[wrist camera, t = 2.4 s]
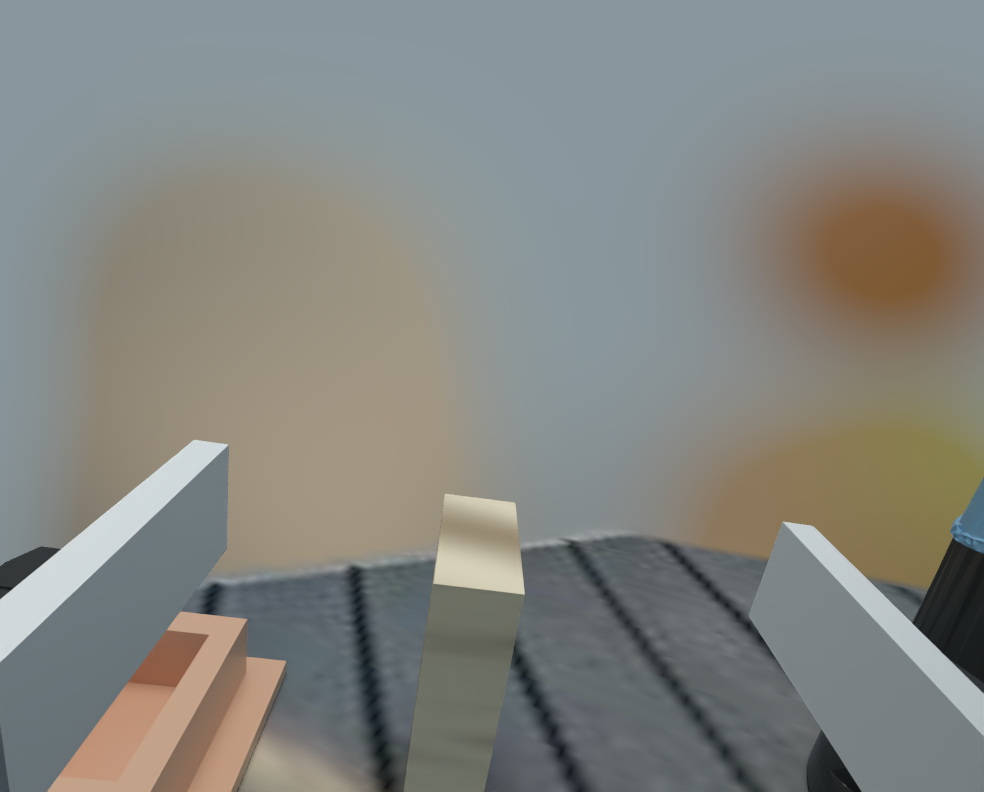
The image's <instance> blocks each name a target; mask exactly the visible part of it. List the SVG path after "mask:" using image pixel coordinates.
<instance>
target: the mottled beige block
mask: <svg viewBox="0 0 984 792" xmlns="http://www.w3.org/2000/svg"><path fill="white" fill-rule="evenodd" d="M524 595H525V593H524V584H523V574H522V564H521V554H520V544H519V535H518V525H517V516H516V505H515V503H513V502H505V501H497V500H489V499H482V498H473V497H466V496H458V495H450V494H445V499H444V505H443V512H442V520H441V527H440V533H439V541H438V548H437V555H436V562H435V569H434V576H433V583H432V590H431V597H430V604H429V611H428V618H427V625H426V632H425V639H424V646H423V653H422V660H421V668H420V675H419V682H418V689H417V696H416V703H415V710H414V717H413V724H412V731H411V738H410V745H409V753H408V760H407V768H406V775H405V782H404V790H403V792H484V791H485V786H486V781H487V776H488V771H489V766H490V761H491V757H492V752H493V747H494V742H495V737H496V732H497V727H498V722H499V717H500V712H501V708H502V703H503V698H504V693H505V688H506V683H507V678H508V673H509V668H510V664H511V659H512V654H513V649H514V644H515V639H516V634H517V629H518V624H519V620H520V615H521V610H522V605H523V600H524Z"/></svg>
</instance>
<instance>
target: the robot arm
mask: <svg viewBox="0 0 984 792" xmlns="http://www.w3.org/2000/svg"><path fill="white" fill-rule="evenodd" d="M228 457H229V445H227V444H220V443H212V442H206V441H198V440H194V441H192V442H191V443H190V444H189V445H187V446H186V447H185V448H184V449H183V450H181V451H180V452H179V453H178V454H176V455H175V456H174V457H173V458H172V459H170V460H169V461H168V462H167V463H165V464H164V465H163V466H162V467H161V468H159V469H158V470H157V471H156V472H155V473H153V474H152V475H151V476H150V477H148V478H147V479H146V480H145V481H144V482H142V483H141V484H140V485H139V486H138V487H136V488H135V489H134V490H133V491H131V492H130V493H129V494H128V495H127V496H125V497H124V498H123V499H122V500H121V501H119V502H118V503H117V504H116V505H114V506H113V507H112V508H111V509H110V510H108V511H107V512H106V513H105V514H103V515H102V516H101V517H100V518H99V519H97V520H96V521H95V522H94V523H93V524H91V525H90V526H89V527H88V528H86V529H85V530H84V531H83V532H82V533H80V534H79V535H78V536H77V537H75V538H74V539H73V540H72V541H71V542H69V543H68V544H67V545H66V546H65V547H63V548H62V549H56V548H48V547H39V548H37V549H34V550H32V551H30V552H28V553H25V554H23V555H21V556H19V557H16V558H14V559H12V560H10V561H8V562H5V563H4V564H3V565H1V566H0V792H47V791H48V790H49V788H50V787H51V785H52V784H53V783H54V781H55V780H56V779H57V777H58V776H59V775H60V773H61V772H62V771H63V769H64V768H65V767H66V765H67V764H68V763H69V761H70V760H71V758H72V757H73V756H74V754H75V753H76V752H77V750H78V749H79V748H80V746H81V745H82V744H83V742H84V741H85V740H86V738H87V737H88V736H89V734H90V733H91V731H92V730H93V729H94V727H95V726H96V725H97V723H98V722H99V721H100V719H101V718H102V717H103V715H104V714H105V713H106V711H107V710H108V708H109V707H110V706H111V704H112V703H113V702H114V700H115V699H116V698H117V696H118V695H119V694H120V692H121V691H122V690H123V688H124V687H125V686H126V684H127V683H128V681H129V680H130V679H131V677H132V676H133V675H134V673H135V672H136V671H137V669H138V668H139V667H140V665H141V664H142V663H143V661H144V660H145V659H146V657H147V656H148V654H149V653H150V652H151V650H152V649H153V648H154V646H155V645H156V644H157V642H158V641H159V640H160V638H161V637H162V636H163V634H164V633H165V632H166V630H167V629H168V627H169V626H170V625H171V623H172V622H173V621H174V619H175V618H176V617H177V615H178V614H179V613H180V611H181V610H182V609H183V607H184V606H185V604H186V603H187V602H188V600H189V599H190V598H191V596H192V595H193V594H194V592H195V591H196V590H197V588H198V587H199V586H200V584H201V583H202V582H203V580H204V579H205V577H206V576H207V575H208V573H209V572H210V571H211V569H212V568H213V567H214V565H215V564H216V563H217V561H218V560H219V558H220V557H221V556H222V554H223V553H224V552H225V550H226V549H227V507H228V506H227V505H228ZM950 532H951V533H952V535H953V539H952V541H951V543H950V545H949V548H948V549H947V552H946V554H945V556H944V558H943V560H942V562H941V564H940V567H939V569H938V571H937V573H936V575H935V577H934V579H933V581H932V583H931V585H930V587H929V589H928V591H927V593H926V595H925V597H924V599H923V602H922V604H921V606H920V608H919V610H918V612H917V614H916V616H915V618H914V620H913V622H912V623H911V622H910V621H909V620H908V619H907V618H906V617H905V616H904V615H903V614H902V613H901V612H900V611H899V610H898V609H897V608H896V607H895V606H894V605H893V604H892V603H891V602H890V601H889V600H888V599H887V598H886V597H885V596H884V595H883V594H882V593H881V592H880V591H879V590H878V589H877V588H876V587H875V586H874V585H873V584H872V583H870V582H869V581H868V580H867V579H866V578H865V577H864V576H863V575H862V574H861V573H860V572H859V571H858V570H857V569H856V568H855V567H854V566H853V565H852V564H851V563H850V562H849V561H848V560H847V559H846V558H845V557H844V556H843V555H842V554H841V553H840V552H839V551H838V550H837V549H836V548H835V547H834V546H833V545H832V544H831V543H830V542H829V541H828V540H827V539H826V538H825V537H824V536H822V534H821V533H819V531H818V530H816V529H815V528H814V527H813V526H808V525H802V524H794V523H788V522H783V523H782V525H781V528H780V531H779V533H778V536H777V539H776V542H775V544H774V547H773V550H772V553H771V555H770V558H769V561H768V564H767V566H766V569H765V572H764V575H763V577H762V580H761V583H760V586H759V588H758V591H757V594H756V597H755V599H754V602H753V605H752V608H751V610H750V613H749V617H750V618H751V620H752V622H753V623H754V625H755V626H756V628H757V629H758V631H759V633H760V634H761V636H762V637H763V639H764V640H765V642H766V643H767V645H768V647H769V648H770V650H771V651H772V653H773V654H774V656H775V657H776V659H777V661H778V662H779V664H780V665H781V667H782V668H783V670H784V671H785V673H786V675H787V676H788V678H789V679H790V681H791V682H792V684H793V685H794V687H795V689H796V690H797V692H798V693H799V695H800V696H801V698H802V699H803V701H804V703H805V704H806V706H807V707H808V709H809V710H810V712H811V713H812V715H813V717H814V718H815V720H816V721H817V723H818V724H819V726H820V727H821V731H820V734H819V736H818V738H817V740H816V743H815V745H814V747H813V749H812V752H811V754H810V757H809V761H808V768H807V776H808V785H809V791H810V792H984V478H983V480H982V482H981V483H980V485H979V487H978V489H977V490H976V492H975V494H974V496H973V497H972V499H971V501H970V503H969V505H968V507H967V508H966V510H965V512H964V514H963V515H961V516H960V517H958V518H957V519H956V520H955V521H954V522H953V525H952V528H951V531H950Z"/></svg>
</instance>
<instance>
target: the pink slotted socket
mask: <svg viewBox="0 0 984 792" xmlns="http://www.w3.org/2000/svg"><path fill="white" fill-rule="evenodd" d="M286 663H287V661H281V660H271V659H262V658H253V657H247V619H241V618H232V617H223V616H215V615H206V614H197V613H188V612H180V613H179V614H178V615H177V617H176V618H175V619H174V621H173V622H172V623H171V625H170V626H169V627H168V629H167V630H166V632H165V633H164V634H163V636H162V637H161V638H160V640H159V641H158V642H157V644H156V645H155V646H154V648H153V649H152V650H151V652H150V653H149V654H148V656H147V657H146V659H145V660H144V661H143V663H142V664H141V665H140V667H139V668H138V669H137V671H136V672H135V673H134V675H133V676H132V677H131V679H130V680H129V681H128V683H127V684H126V686H125V687H124V688H123V690H122V691H121V692H120V694H119V695H118V696H117V698H116V699H115V700H114V702H113V703H112V704H111V706H110V707H109V708H108V710H107V711H106V713H105V714H104V715H103V717H102V718H101V719H100V721H99V722H98V723H97V725H96V726H95V727H94V729H93V730H92V731H91V733H90V734H89V736H88V737H87V738H86V740H85V741H84V742H83V744H82V745H81V746H80V748H79V749H78V750H77V752H76V753H75V754H74V756H73V757H72V758H71V760H70V761H69V763H68V764H67V765H66V767H65V768H64V769H63V771H62V772H61V773H60V775H59V776H58V777H57V779H56V780H55V781H54V783H53V784H52V785H51V787H50V788H49V790H48V791H47V792H237V790H238V788H239V786H240V783H241V781H242V778H243V776H244V773H245V771H246V769H247V766H248V764H249V761H250V759H251V757H252V754H253V752H254V749H255V747H256V745H257V742H258V740H259V737H260V735H261V733H262V730H263V728H264V725H265V723H266V721H267V718H268V716H269V713H270V711H271V709H272V706H273V704H274V701H275V699H276V697H277V694H278V692H279V689H280V687H281V685H282V682H283V680H284V677H285V675H286Z"/></svg>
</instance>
